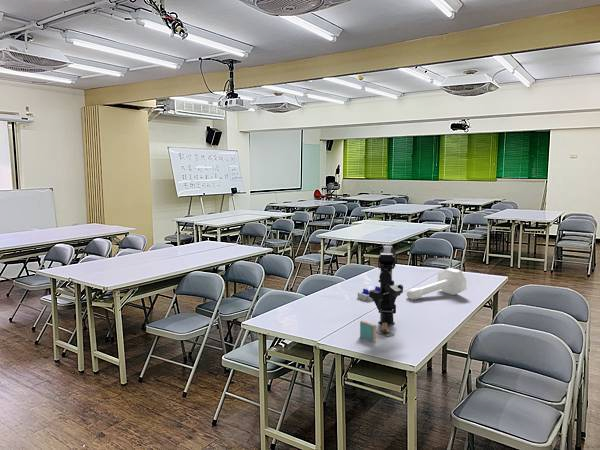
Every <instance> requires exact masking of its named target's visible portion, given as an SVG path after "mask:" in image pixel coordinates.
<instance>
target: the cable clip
mask: <svg viewBox="0 0 600 450" xmlns="http://www.w3.org/2000/svg"><path fill="white" fill-rule="evenodd" d="M378 288H380V286H378V285H376V286H375V287H374V289H375V290H376V291H380V290H378ZM368 290H369V289H368V288H362V291H363V294H366V295H369V292H368Z"/></svg>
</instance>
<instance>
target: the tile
mask: <svg viewBox="0 0 600 450" xmlns="http://www.w3.org/2000/svg"><path fill="white" fill-rule="evenodd" d="M359 321H360V322H359V337H360V338H363V340H364V339H365V340H367V341H370V342H372V343H375V342H376V338H377V337H376V335H377V333H376V331H377V329H376V327H377V325H376V324H373V323H369V322H368V321H364V320H359Z"/></svg>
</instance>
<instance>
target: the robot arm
mask: <svg viewBox="0 0 600 450" xmlns="http://www.w3.org/2000/svg"><path fill="white" fill-rule="evenodd" d="M396 251H397V250H395V249H394V247H393V246H392V245H383V246H382V249H380V251H379V253H380V254H379V255H378V259H377V260H378V261H377V262H378V263H377V268H378V269H380V271H379V272H380V273H379V277H378V278H379V279H378V283H380V284H379V285H380V286H379V287H380V288H378V290H380V291H376V290H374V291H370V292H369V297H371V298H372V299H373V302H374V305H375V306H376V308H377V310H378V314H380V317H379V319H380V320H379V321H378V322H377V323H378V324H381V325H382V324H383V322H386V323H387V327H388V326H391V325H394V324H395V322H394V315H395V314H396V313H397V304H396V303H395V302H396V300H397V298H398V297H399V296H401V295H402V294H403V292H404V285H403V284H398V285H397V284H395V281H394V280H393V270H395V268H396V261H397V252H396Z"/></svg>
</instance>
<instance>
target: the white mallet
mask: <svg viewBox="0 0 600 450" xmlns="http://www.w3.org/2000/svg"><path fill="white" fill-rule="evenodd" d="M439 290H441V291H442V292H444V293H445V294H446V293H447V294H450V295H452V296H455V295H457V294H460V293H462V292H464V291H467V278H466V277H465V276H464V274H463V272H462V271H461V270H460V269H456V268H454V267H449V268H445V269H444V270H442V271H440V272H438V273H437V281H436V282H433V283H430V284H426V285H425V286H422V287H413V288H410V289H408V290H407V291H406V297H407V298H408V299H410V300H412V301H413V300H417V299H419V298H422V297H423V296H425V295H427V294H430V293H434V292H436V291H439Z"/></svg>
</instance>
